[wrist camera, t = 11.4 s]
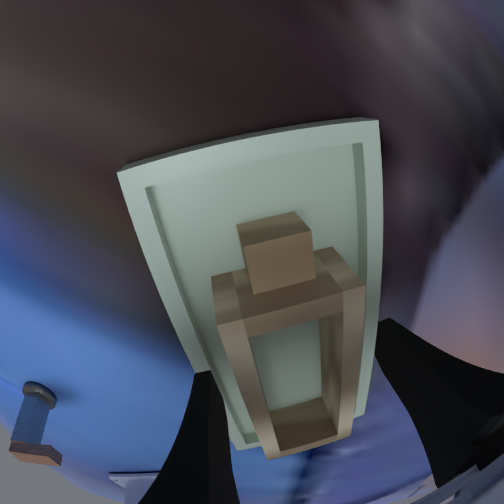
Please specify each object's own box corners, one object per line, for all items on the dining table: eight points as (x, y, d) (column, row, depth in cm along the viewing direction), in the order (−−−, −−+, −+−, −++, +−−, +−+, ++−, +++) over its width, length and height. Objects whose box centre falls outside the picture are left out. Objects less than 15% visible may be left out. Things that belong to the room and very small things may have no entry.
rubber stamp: (80, 403, 16) (67, 471, 12) (38, 405, 16) (21, 465, 11) (59, 379, 15) (40, 450, 10) (17, 382, 15) (-5, 444, 10)
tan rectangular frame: (334, 399, 19) (350, 435, 16) (257, 421, 19) (267, 460, 16) (329, 203, 12) (366, 234, 10) (198, 234, 12) (200, 276, 9)
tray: (356, 399, 21) (363, 414, 19) (234, 434, 20) (237, 450, 19) (359, 117, 11) (378, 120, 10) (126, 164, 11) (117, 172, 10)
